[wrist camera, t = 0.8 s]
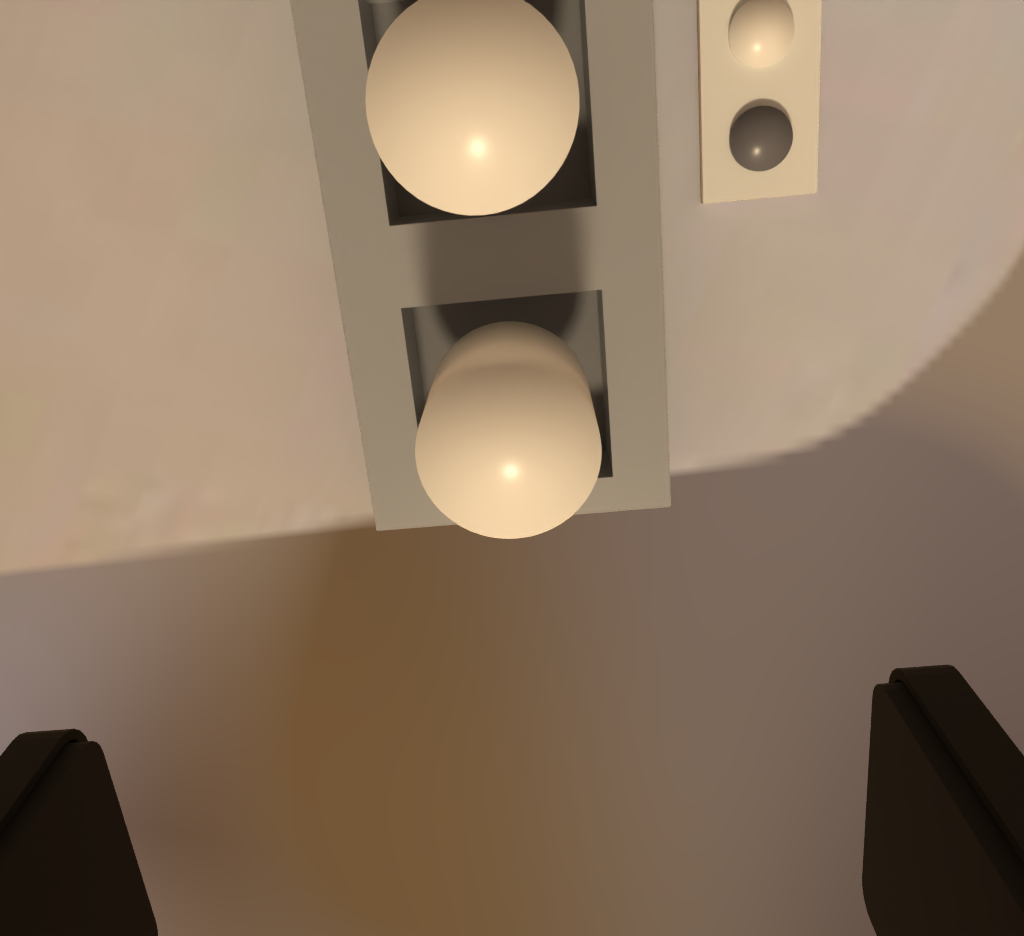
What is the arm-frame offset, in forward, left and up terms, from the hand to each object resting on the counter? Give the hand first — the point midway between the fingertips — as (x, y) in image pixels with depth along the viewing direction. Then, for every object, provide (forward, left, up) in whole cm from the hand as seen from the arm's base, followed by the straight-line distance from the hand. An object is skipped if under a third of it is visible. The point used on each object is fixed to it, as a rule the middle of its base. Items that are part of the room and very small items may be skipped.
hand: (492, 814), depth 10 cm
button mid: (-7, 0, -15) cm, 16 cm away
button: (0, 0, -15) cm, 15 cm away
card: (-8, +7, -18) cm, 21 cm away
